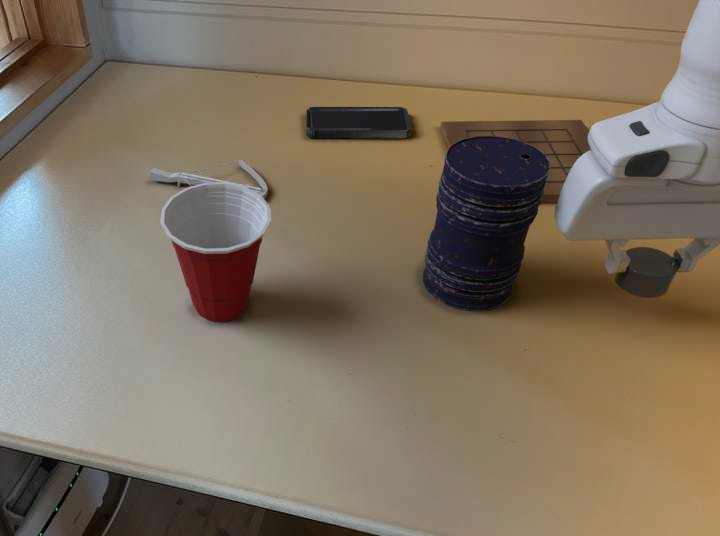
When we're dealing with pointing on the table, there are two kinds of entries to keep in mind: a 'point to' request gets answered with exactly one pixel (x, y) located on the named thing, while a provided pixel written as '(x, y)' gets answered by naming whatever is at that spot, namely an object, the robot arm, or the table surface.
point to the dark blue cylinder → (483, 220)
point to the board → (532, 143)
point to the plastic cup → (217, 244)
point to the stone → (647, 273)
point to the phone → (357, 122)
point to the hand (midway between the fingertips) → (646, 269)
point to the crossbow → (206, 178)
